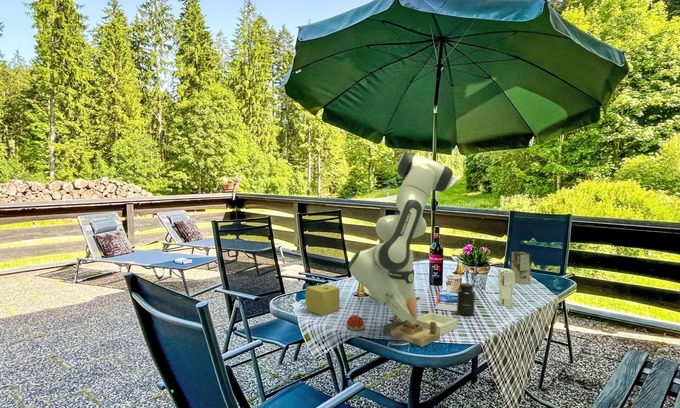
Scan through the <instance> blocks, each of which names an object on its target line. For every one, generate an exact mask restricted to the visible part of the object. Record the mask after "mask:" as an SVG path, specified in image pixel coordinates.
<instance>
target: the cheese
mask: <svg viewBox="0 0 680 408" xmlns="http://www.w3.org/2000/svg"><path fill="white" fill-rule="evenodd" d="M304 296H305V298H304V299H305V304H306V305H305V307H306V311H307V312H309V311H310V312H309V313H312V312H314V313H313V314H315V313H316V315H318V314H319V316H321V315H322V317H324V316H327V315H329V314H333V313H337V312H339V311H340V297H341V296H340V287H337V286H334V285H330V284H327V285H320V284H319V285H318V284H317V285H310V286H306V288H305V295H304ZM323 315H324V316H323Z"/></svg>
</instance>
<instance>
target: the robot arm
mask: <svg viewBox="0 0 680 408" xmlns="http://www.w3.org/2000/svg"><path fill="white" fill-rule="evenodd" d="M396 172H397V175H398V176H400V177H401V178H403V179H404V180H403V181H402V183H401V184H400V185H401V186H400V187H399V190H398V192H397V196H396V199H395V207H396V208H397V210H398V211H399V213H400V214H389V215H385V216H382V217H380V218H378V220H377V221H376V223H375V232H376V234H377V236H378V237H379V239H380V238H381V240H382V241H383V242H381V243H378V244H377V245H374V246H373V247H370V248H367V249H364V250H358V251H357V252H356V253H355V254H354V255H353V256H352V257H351V259H350V261H349V263H348V270H349V272H350V274H351V275H352V276H353V277H354V278H355V280H356V281H357V282H358V283H359V284H360V285H361V286H363V287H364V288H366V289H367V291H368V293H369V294H368V296H369V297H372V298H373V299H375V300H376V301H377V302H378V303H379V304H385V305H387V307H388V308H389V309H390V310H391V312H392V313H394V315H395V316H396V317H397V318H398V320H401V321H403V322H404V321H405V320H408V321H409V322H410V323H411V324H412V325H414V324H415V323H416V322H417V321H416V319H415V318H414V317H412V316H411V315H410V312H409V309H408V307H407V298H416V299H417V297H416V292H415V285H414V279H415V268H414V252H413V251H412V249H411V241H412V239H415V238H418V237H421V236H423V235H424V234H425V233H426V231H427V228H428V227H427V226H428V225H427V222H426V219H425V218H424V217H423V212H424V209H425V207H426V205H427V203H428V201H429V199H430V196H431V194H432V191H435V192H439V193H441V192H445V191H446V190H447V189H448V188H449V187H450V186H451V184H452V181H453V169H451V168H450V167H448V166H447V165H443V164H441V163H439V162H437V161H436V160H434V159H429V158H427V157H425V156H421V155H418V154H415V153H413V152H406V153H404V154H403V155H402V156H401V157H400V159H399V160H398V162H397V165H396Z"/></svg>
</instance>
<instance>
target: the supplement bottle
mask: <svg viewBox="0 0 680 408" xmlns="http://www.w3.org/2000/svg"><path fill="white" fill-rule="evenodd" d="M473 286H474V285H473V284H471V283H465V282H463V283H460V286H459V287H460V288H459V289H460V290H458V291H457V298H456V300H457V301H456V313H457V314H459V315H460V316H466V317H472V316H474V315H475V309H476V308H475V307H476V305H475V303H476V301H475V300H476V294H475V292H474V291H473Z"/></svg>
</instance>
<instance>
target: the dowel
mask: <svg viewBox="0 0 680 408" xmlns="http://www.w3.org/2000/svg"><path fill="white" fill-rule="evenodd" d="M417 303H418V302H417V297H416V298H407V307H408V309H409V312H410V315H411V316H412V317H414V318H415V319H416V318H417V305H418V304H417ZM407 328H410V329H415V328H416V323H415V324H414V325H412V324H411V323H410V322H409V321H408V320H407Z"/></svg>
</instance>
